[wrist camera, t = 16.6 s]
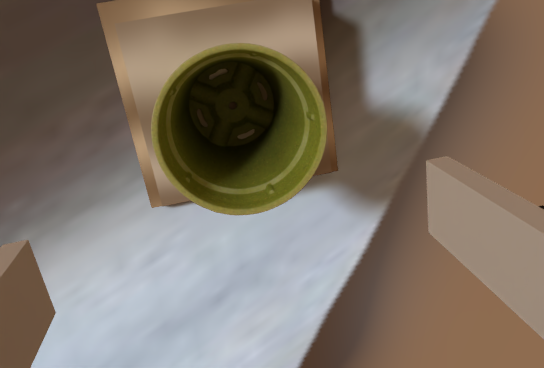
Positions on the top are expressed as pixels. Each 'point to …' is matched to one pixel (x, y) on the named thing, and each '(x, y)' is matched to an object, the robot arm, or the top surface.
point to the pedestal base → (192, 40)
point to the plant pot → (239, 129)
